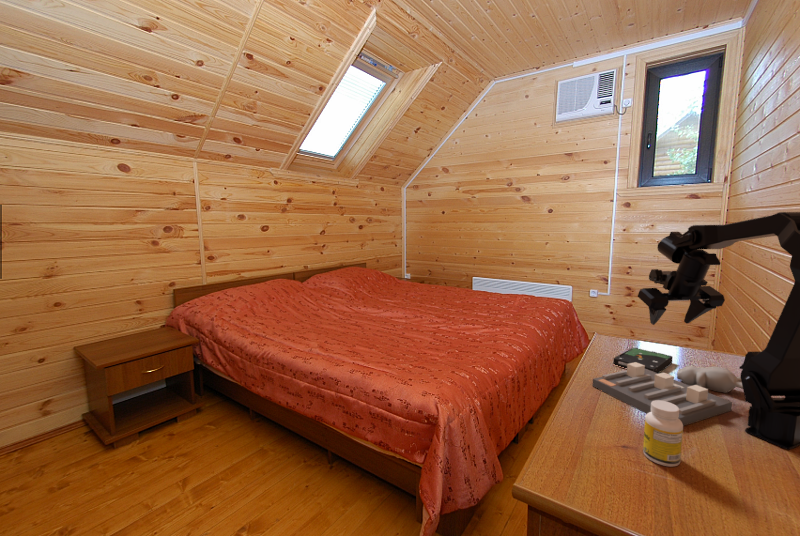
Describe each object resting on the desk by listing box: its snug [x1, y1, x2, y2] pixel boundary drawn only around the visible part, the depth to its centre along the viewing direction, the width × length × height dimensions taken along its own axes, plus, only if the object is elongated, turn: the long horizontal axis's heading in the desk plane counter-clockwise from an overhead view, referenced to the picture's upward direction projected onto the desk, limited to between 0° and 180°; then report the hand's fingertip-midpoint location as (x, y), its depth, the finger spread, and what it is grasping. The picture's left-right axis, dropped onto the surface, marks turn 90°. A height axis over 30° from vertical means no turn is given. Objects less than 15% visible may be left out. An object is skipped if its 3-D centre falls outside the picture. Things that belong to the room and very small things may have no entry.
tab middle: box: [654, 372, 675, 390], centre depth 86 cm, size 2×3×3 cm
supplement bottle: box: [642, 400, 684, 468], centre depth 64 cm, size 5×5×10 cm
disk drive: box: [612, 347, 673, 374], centre depth 105 cm, size 10×3×15 cm
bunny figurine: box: [676, 365, 743, 394], centre depth 90 cm, size 10×5×15 cm
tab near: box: [686, 385, 709, 404], centre depth 79 cm, size 2×3×3 cm
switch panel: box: [592, 369, 733, 427], centre depth 85 cm, size 20×18×3 cm
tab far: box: [626, 362, 645, 378], centre depth 92 cm, size 2×3×3 cm
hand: (669, 323), depth 97 cm, fingers open, 9 cm apart
